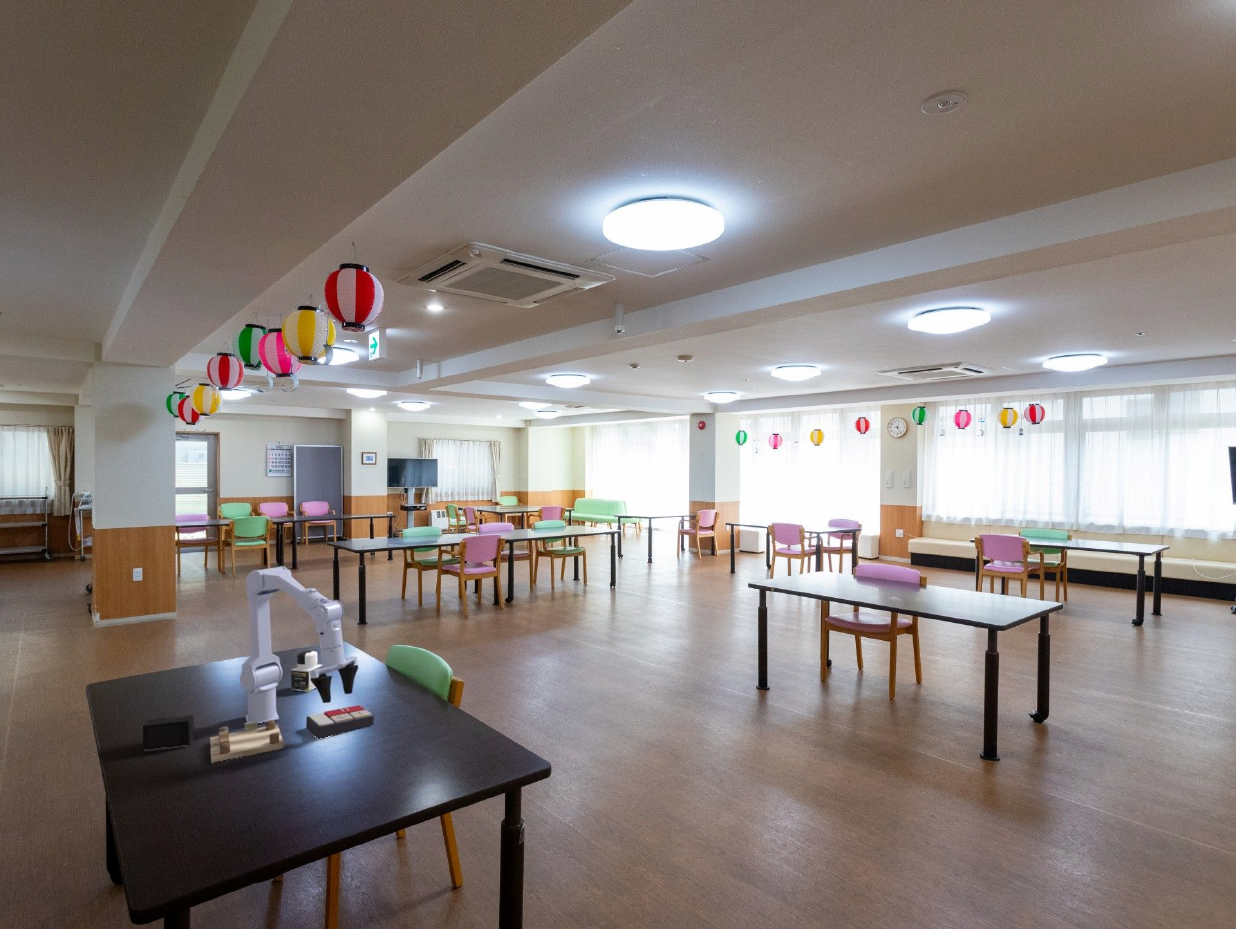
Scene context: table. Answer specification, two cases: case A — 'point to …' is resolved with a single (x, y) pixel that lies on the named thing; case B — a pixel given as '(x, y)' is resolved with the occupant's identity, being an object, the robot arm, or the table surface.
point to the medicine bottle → (304, 670)
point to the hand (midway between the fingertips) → (337, 697)
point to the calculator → (339, 721)
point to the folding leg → (223, 735)
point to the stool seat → (247, 742)
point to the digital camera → (168, 732)
